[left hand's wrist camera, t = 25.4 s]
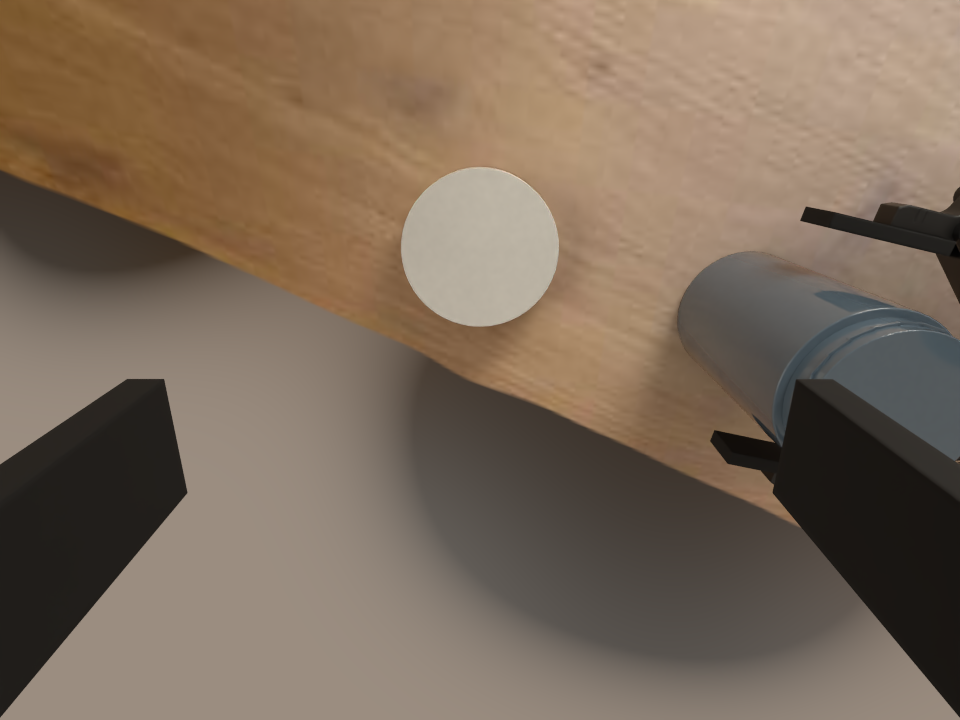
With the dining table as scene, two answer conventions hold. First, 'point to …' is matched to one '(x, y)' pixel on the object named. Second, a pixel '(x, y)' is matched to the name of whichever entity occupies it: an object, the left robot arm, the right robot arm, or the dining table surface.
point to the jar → (819, 345)
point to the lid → (479, 247)
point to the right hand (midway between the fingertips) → (764, 339)
